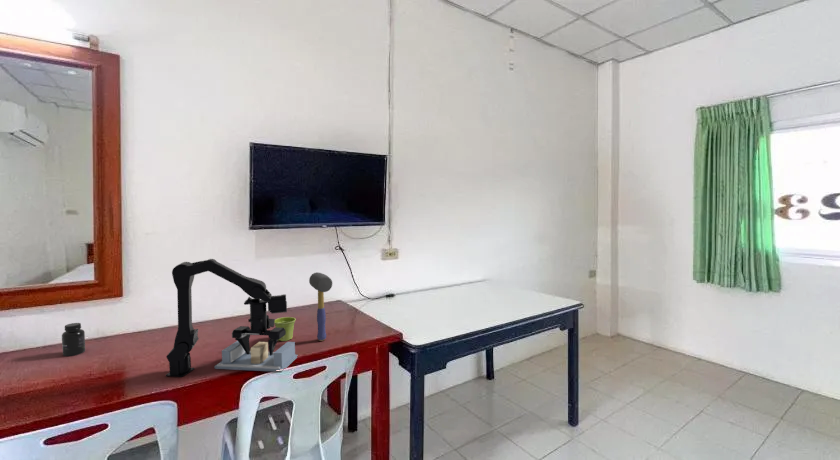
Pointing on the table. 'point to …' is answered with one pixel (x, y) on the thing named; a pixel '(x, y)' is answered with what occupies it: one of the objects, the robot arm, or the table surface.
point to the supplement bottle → (73, 340)
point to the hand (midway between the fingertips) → (259, 354)
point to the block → (259, 352)
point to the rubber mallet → (321, 300)
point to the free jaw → (232, 353)
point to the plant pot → (286, 326)
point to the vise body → (272, 363)
